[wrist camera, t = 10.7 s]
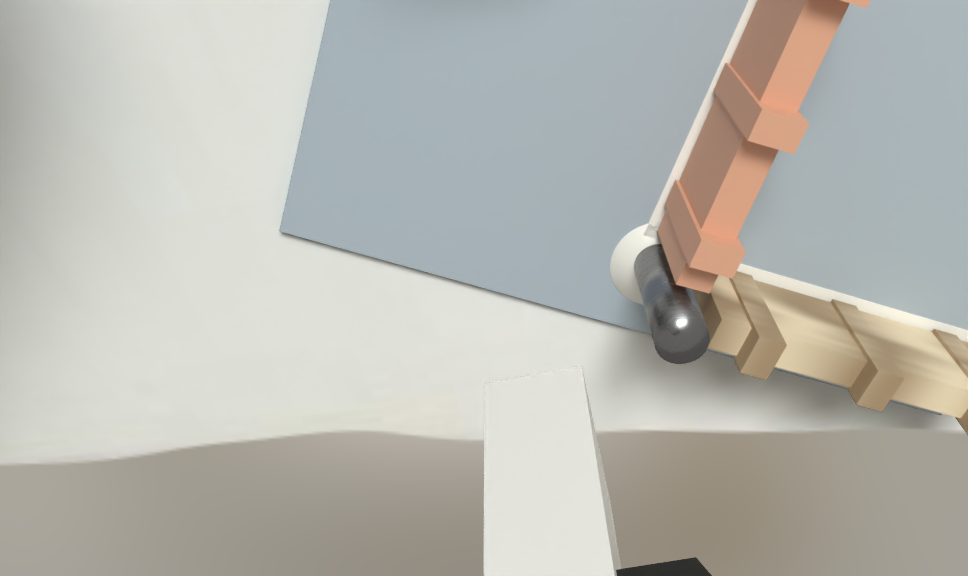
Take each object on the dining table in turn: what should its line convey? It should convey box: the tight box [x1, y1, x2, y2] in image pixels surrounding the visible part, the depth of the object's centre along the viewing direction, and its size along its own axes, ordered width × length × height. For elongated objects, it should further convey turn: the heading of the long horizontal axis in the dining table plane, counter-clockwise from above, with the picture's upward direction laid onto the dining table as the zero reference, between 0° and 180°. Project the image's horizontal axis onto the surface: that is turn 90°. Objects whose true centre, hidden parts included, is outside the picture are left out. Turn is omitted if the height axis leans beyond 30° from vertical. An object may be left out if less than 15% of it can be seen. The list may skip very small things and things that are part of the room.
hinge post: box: [634, 244, 710, 364], centre depth 32 cm, size 2×2×6 cm
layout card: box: [279, 0, 968, 415], centre depth 32 cm, size 28×17×1 cm, turn 73°
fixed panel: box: [693, 271, 968, 435], centre depth 33 cm, size 12×2×5 cm, turn 73°
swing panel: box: [657, 0, 870, 294], centre depth 28 cm, size 12×2×5 cm, turn 164°
